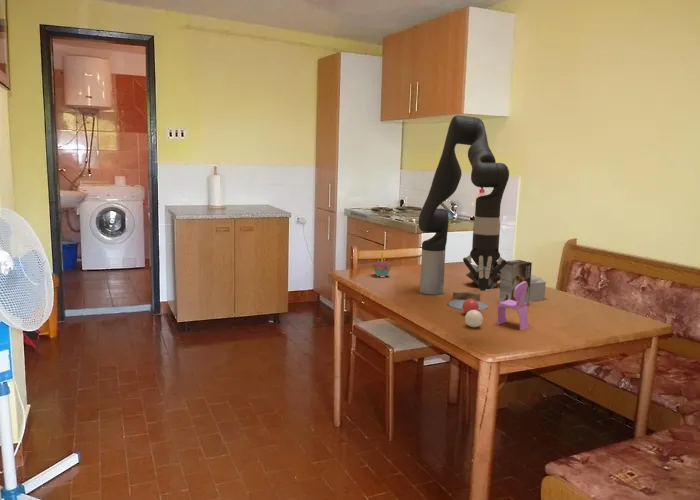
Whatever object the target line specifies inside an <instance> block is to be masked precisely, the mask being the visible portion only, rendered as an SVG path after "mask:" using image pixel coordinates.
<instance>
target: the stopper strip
mask: <svg viewBox="0 0 700 500" xmlns="http://www.w3.org/2000/svg"><path fill="white" fill-rule="evenodd" d="M452 299H453V300H467V299H474V300H476V301H478V302H481V293H480V292H471V291H452Z"/></svg>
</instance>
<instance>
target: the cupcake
mask: <svg viewBox="0 0 700 500" xmlns="http://www.w3.org/2000/svg"><path fill="white" fill-rule="evenodd" d="M380 256H381V257H380V259H381V260H377V261H375V262H373V263H372V266H371V269H373V270H374V272H375V276H376V275H378V276H387V277H388V274H389V272H390V270H391V269H392V264H390V262H388V261H385V260H384V251H383V250H382V251H381V255H380Z"/></svg>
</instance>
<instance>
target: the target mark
mask: <svg viewBox="0 0 700 500" xmlns="http://www.w3.org/2000/svg"><path fill="white" fill-rule="evenodd" d="M464 301H465V300H461V299H453V300H451V301H449V302H448V303H447V305H448V306H449V307H450V308H452V309H455V310H460V311H463V308H462V306H463V303H464ZM476 301H477V303H478V305H479V309H478V311H479V312H480V311H483V310H486V309H488V304H486V303H484V302H481V301H479V300H476Z"/></svg>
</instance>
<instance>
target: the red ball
mask: <svg viewBox="0 0 700 500" xmlns="http://www.w3.org/2000/svg"><path fill="white" fill-rule="evenodd" d="M477 301H478V300H474V299H467V300H465V301H464V303H463V306H462V308H463V310H462V311H463V312H464V313H465V315H466V314H467V312H468V311H470V310H477V311H478V309H479V305H478V303H477Z"/></svg>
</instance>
